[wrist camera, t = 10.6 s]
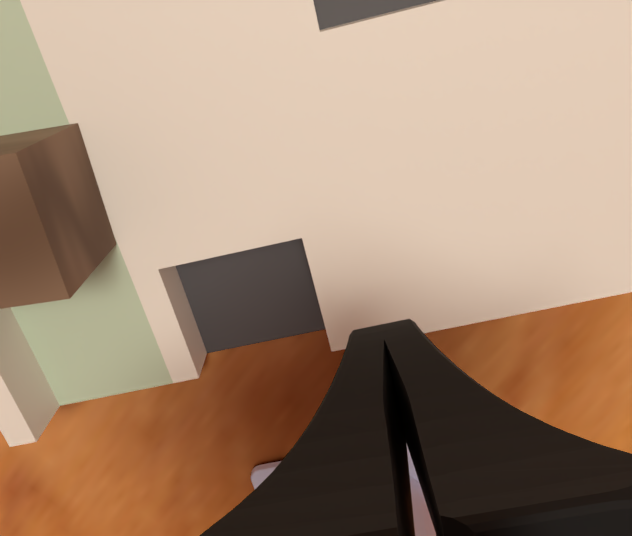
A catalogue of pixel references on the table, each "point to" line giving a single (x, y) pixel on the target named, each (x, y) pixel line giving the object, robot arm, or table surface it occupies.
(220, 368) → the table surface
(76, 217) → the walnut block
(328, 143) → the trap deck
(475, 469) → the robot arm
